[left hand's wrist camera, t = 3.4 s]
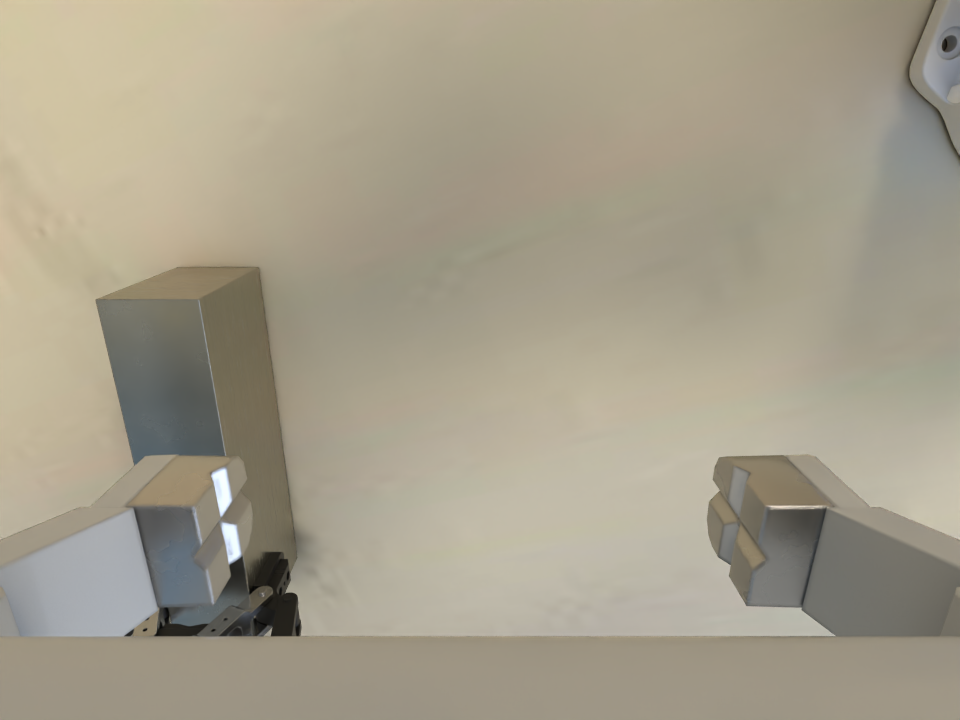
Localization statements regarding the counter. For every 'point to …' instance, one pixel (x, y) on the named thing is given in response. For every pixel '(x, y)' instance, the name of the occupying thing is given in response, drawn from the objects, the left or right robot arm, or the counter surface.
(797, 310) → the counter surface
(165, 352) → the bar
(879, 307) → the counter surface
